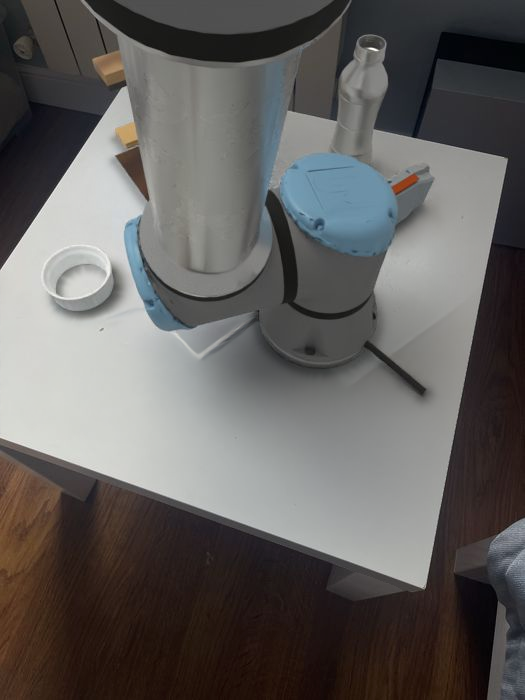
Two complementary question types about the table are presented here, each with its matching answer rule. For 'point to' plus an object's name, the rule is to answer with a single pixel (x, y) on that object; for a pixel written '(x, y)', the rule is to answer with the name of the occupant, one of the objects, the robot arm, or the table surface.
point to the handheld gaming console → (411, 188)
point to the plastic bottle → (360, 99)
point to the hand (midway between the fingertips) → (140, 45)
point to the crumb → (127, 135)
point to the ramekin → (72, 258)
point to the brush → (111, 70)
